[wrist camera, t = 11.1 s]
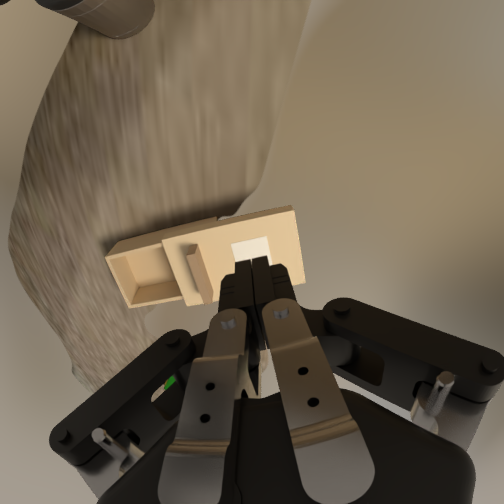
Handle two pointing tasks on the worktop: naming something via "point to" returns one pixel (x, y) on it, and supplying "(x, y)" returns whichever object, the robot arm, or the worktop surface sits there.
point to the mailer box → (146, 268)
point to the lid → (232, 250)
